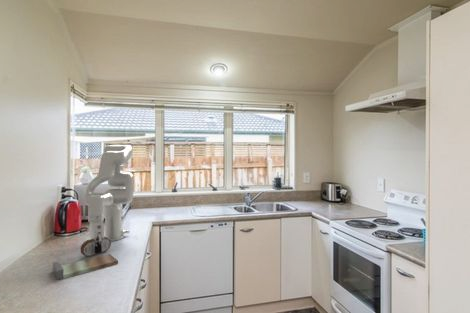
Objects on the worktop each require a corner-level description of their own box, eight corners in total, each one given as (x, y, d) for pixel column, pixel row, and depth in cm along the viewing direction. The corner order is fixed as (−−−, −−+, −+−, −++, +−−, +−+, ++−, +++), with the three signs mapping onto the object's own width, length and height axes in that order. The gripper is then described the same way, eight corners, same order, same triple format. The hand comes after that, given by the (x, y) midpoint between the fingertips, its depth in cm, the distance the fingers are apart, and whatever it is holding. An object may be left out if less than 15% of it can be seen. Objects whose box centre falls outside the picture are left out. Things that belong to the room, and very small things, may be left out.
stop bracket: (57, 269, 123) (57, 261, 123) (63, 278, 115) (63, 269, 115) (52, 270, 122) (52, 262, 122) (57, 280, 113) (57, 270, 113)
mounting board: (109, 256, 139) (109, 253, 139) (117, 263, 131) (117, 260, 130) (57, 269, 123) (57, 266, 123) (63, 278, 115) (63, 275, 115)
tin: (108, 249, 150) (108, 234, 150) (111, 250, 148) (111, 235, 148) (80, 257, 138) (79, 241, 138) (82, 259, 136) (82, 242, 136)
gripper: (108, 219, 139) (108, 253, 139) (98, 214, 152) (98, 245, 152) (93, 222, 134) (93, 257, 134) (84, 216, 147) (84, 248, 147)
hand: (96, 250), depth 143 cm, fingers open, 6 cm apart
